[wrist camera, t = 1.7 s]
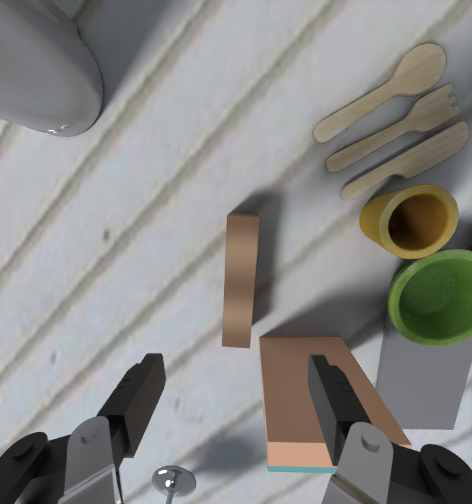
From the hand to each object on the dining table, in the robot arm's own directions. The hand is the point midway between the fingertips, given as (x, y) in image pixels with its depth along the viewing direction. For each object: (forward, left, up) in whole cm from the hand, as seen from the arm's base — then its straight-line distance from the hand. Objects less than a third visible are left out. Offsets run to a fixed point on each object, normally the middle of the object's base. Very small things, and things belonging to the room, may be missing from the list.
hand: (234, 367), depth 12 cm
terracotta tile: (+10, +7, -14) cm, 19 cm away
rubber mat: (+13, +22, -14) cm, 29 cm away
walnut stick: (0, 0, -14) cm, 14 cm away
